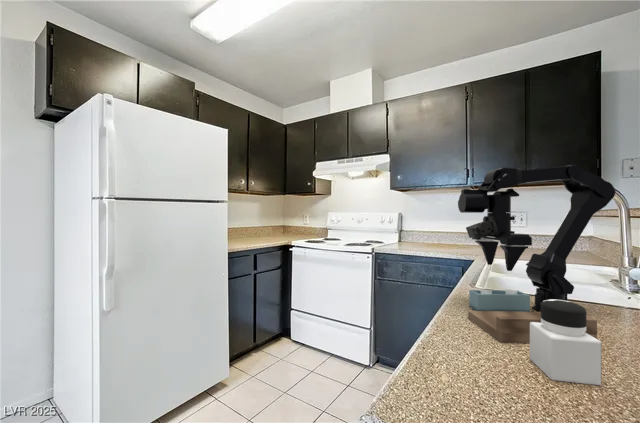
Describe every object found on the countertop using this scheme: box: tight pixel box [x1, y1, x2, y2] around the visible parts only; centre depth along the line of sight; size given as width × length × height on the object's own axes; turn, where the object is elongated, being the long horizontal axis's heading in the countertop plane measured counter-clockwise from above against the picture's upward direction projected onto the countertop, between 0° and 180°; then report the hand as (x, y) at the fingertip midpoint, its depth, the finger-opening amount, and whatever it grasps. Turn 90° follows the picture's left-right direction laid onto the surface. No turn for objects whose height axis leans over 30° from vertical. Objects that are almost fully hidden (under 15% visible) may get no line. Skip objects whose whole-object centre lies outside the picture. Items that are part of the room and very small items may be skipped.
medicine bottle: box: [529, 299, 602, 386], centre depth 50 cm, size 7×7×12 cm
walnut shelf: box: [467, 310, 598, 344], centre depth 68 cm, size 20×14×5 cm
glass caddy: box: [468, 288, 531, 312], centre depth 82 cm, size 14×5×6 cm, turn 89°
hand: (498, 267), depth 82 cm, fingers open, 9 cm apart
